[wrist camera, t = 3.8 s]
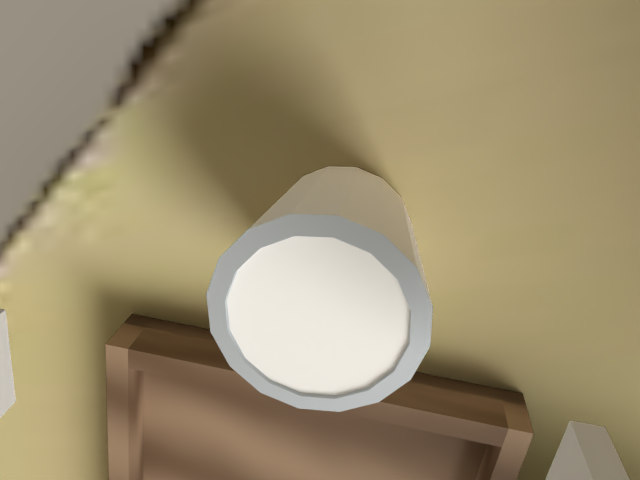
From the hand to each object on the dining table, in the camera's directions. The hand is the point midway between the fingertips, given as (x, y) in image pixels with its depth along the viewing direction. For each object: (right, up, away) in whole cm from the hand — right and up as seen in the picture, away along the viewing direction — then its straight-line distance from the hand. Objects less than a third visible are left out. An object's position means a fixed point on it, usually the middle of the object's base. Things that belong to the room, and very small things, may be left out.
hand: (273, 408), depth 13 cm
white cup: (+2, +4, +10) cm, 11 cm away
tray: (0, -9, +16) cm, 19 cm away
